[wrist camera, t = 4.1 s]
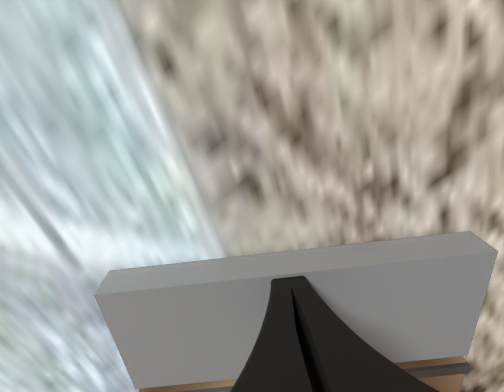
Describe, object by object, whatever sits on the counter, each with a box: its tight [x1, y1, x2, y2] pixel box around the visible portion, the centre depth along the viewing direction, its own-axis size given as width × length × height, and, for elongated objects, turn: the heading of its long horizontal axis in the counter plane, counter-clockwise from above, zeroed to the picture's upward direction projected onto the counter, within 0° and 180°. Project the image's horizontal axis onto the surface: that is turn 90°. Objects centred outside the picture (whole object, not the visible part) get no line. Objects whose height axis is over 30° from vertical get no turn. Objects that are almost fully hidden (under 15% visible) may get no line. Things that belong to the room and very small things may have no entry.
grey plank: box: [94, 231, 498, 389], centre depth 13 cm, size 16×6×2 cm, turn 96°
